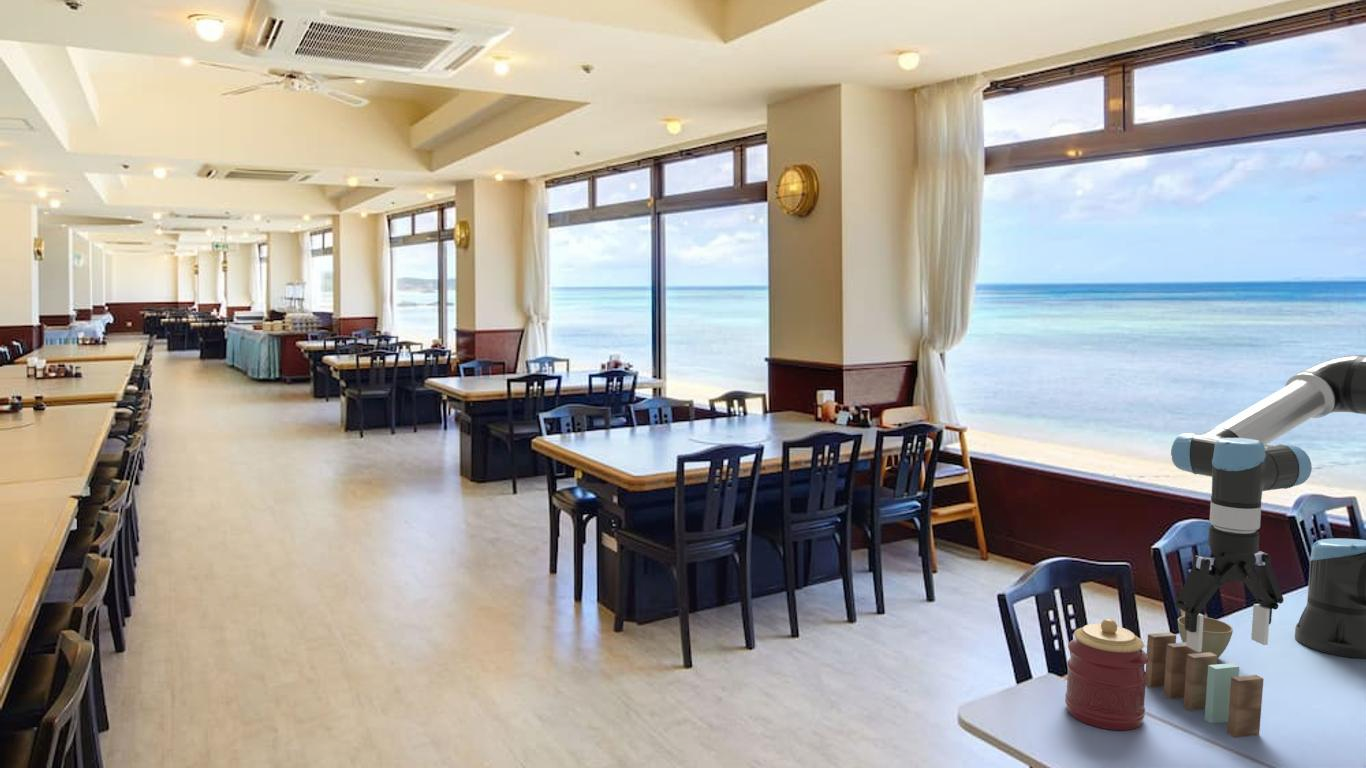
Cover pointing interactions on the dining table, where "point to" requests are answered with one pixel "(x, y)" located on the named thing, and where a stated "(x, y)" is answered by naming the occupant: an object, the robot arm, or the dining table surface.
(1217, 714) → the domino
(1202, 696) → the domino
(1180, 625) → the flower pot
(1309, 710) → the dining table surface
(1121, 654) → the canister
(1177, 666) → the domino
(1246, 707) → the domino
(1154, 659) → the domino
